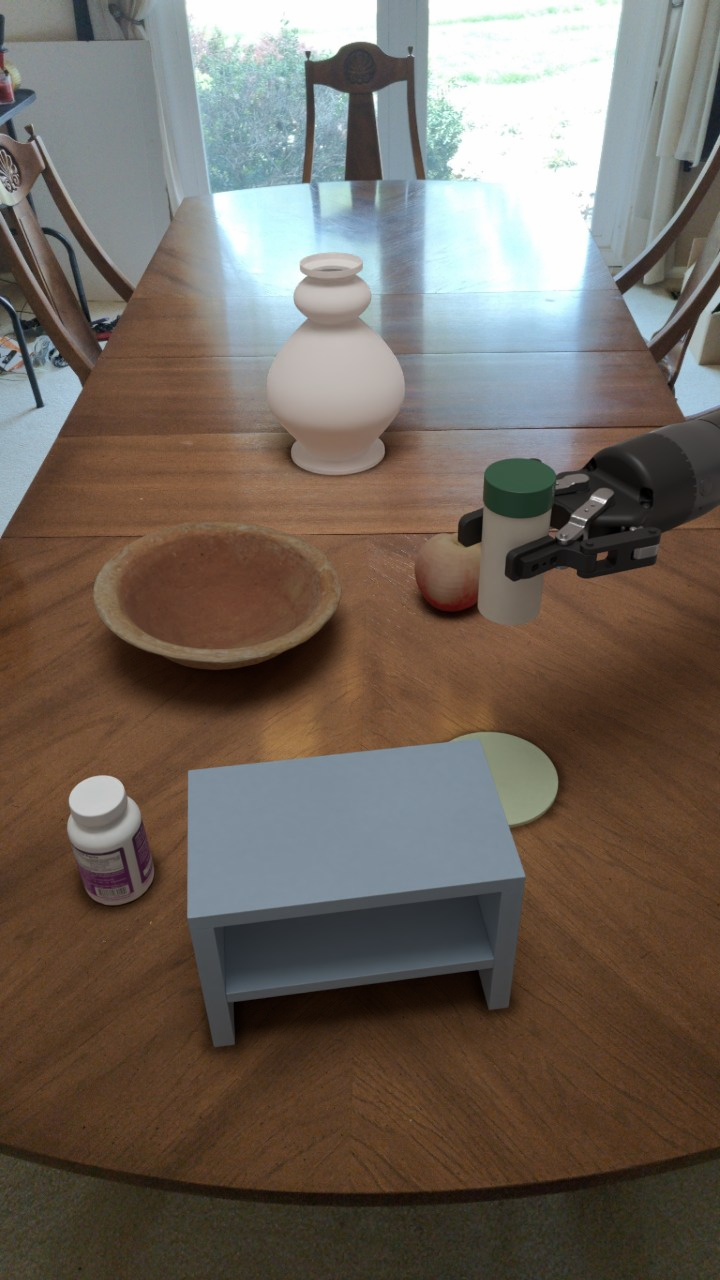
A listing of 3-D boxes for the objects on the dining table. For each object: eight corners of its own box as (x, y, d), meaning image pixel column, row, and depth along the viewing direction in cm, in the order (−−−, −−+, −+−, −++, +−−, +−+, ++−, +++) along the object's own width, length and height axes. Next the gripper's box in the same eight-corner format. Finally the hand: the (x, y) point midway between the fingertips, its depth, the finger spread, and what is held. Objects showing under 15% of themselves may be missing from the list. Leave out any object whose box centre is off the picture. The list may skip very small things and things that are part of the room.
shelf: (508, 1008, 67) (526, 876, 58) (214, 1048, 65) (186, 918, 56) (469, 869, 76) (479, 738, 68) (211, 900, 74) (187, 770, 66)
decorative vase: (380, 494, 123) (379, 292, 107) (250, 474, 127) (231, 278, 112) (420, 433, 136) (423, 246, 121) (300, 417, 141) (289, 235, 125)
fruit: (501, 616, 102) (507, 551, 97) (429, 631, 100) (431, 565, 95) (473, 575, 108) (477, 512, 103) (404, 588, 106) (405, 525, 101)
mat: (574, 821, 80) (575, 817, 80) (441, 836, 79) (442, 832, 79) (537, 729, 89) (537, 725, 88) (417, 742, 87) (417, 738, 87)
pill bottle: (121, 842, 79) (99, 756, 73) (169, 872, 77) (150, 786, 71) (70, 887, 76) (42, 801, 70) (118, 920, 73) (94, 834, 67)
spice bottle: (549, 623, 71) (565, 489, 64) (484, 629, 70) (493, 495, 64) (531, 585, 75) (545, 454, 68) (469, 591, 74) (477, 460, 67)
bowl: (286, 744, 88) (280, 676, 83) (60, 688, 94) (42, 621, 89) (375, 599, 105) (374, 535, 100) (178, 560, 112) (169, 498, 107)
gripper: (724, 564, 72) (547, 646, 65) (589, 485, 82) (422, 549, 75) (747, 473, 68) (559, 550, 61) (600, 401, 77) (423, 461, 70)
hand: (484, 549), depth 68 cm, fingers closed on spice bottle, 4 cm apart
